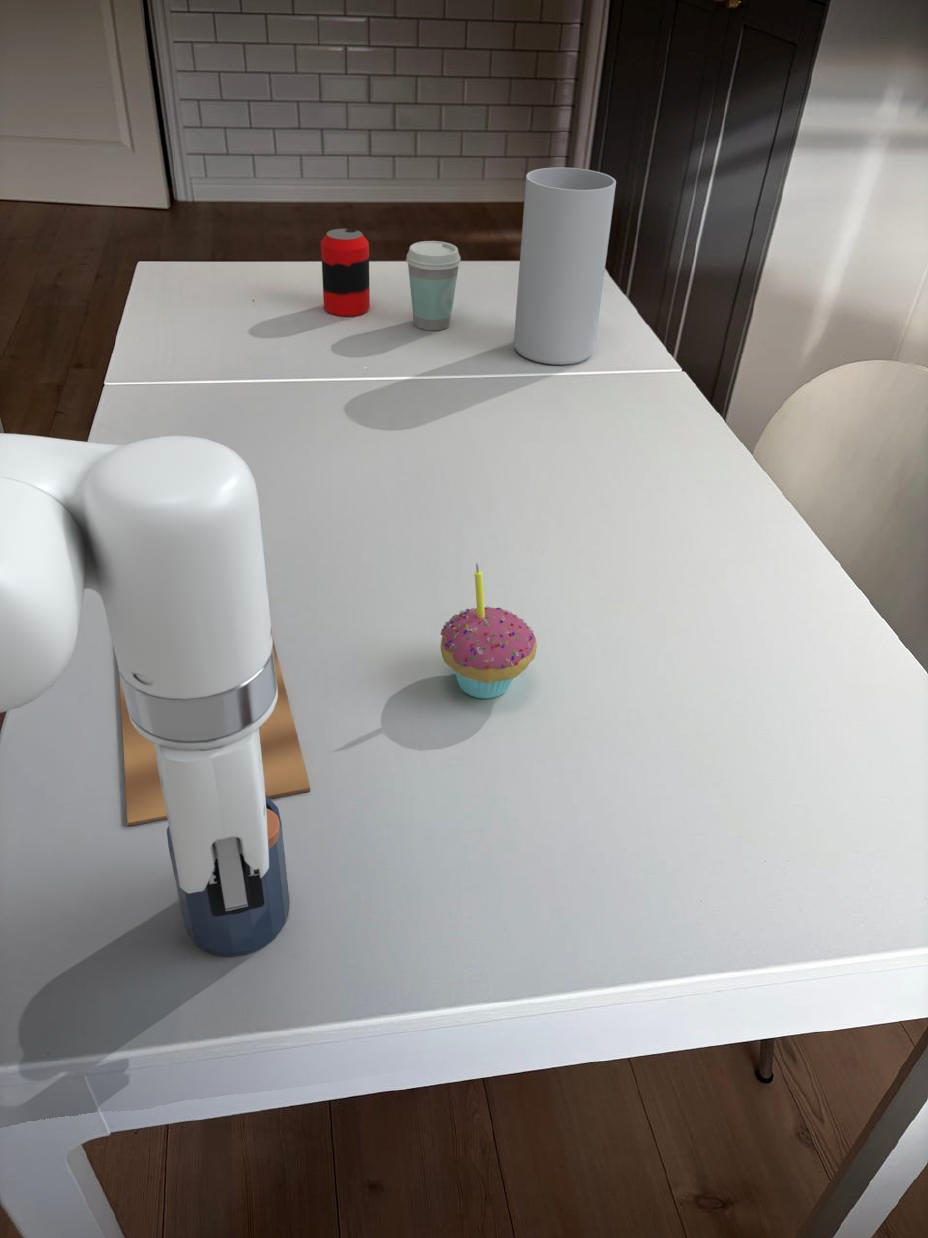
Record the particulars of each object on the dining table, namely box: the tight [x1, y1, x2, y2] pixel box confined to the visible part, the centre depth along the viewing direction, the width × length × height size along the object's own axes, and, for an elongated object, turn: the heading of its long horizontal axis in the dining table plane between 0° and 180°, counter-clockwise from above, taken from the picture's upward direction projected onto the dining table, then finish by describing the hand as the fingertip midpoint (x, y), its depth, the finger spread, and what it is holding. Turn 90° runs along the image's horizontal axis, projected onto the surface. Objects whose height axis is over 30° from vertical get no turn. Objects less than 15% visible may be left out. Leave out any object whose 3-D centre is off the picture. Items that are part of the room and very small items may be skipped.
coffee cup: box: [405, 240, 462, 332], centre depth 156 cm, size 8×9×12 cm
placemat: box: [118, 636, 311, 827], centre depth 92 cm, size 40×14×1 cm, turn 17°
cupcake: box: [440, 562, 538, 700], centre depth 87 cm, size 9×8×12 cm
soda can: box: [320, 228, 371, 317], centre depth 160 cm, size 8×8×12 cm
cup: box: [166, 794, 291, 957], centre depth 67 cm, size 7×7×9 cm
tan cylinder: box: [266, 808, 280, 849], centre depth 66 cm, size 3×3×10 cm
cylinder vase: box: [513, 167, 617, 366], centre depth 146 cm, size 12×12×25 cm
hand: (237, 901), depth 61 cm, fingers closed
